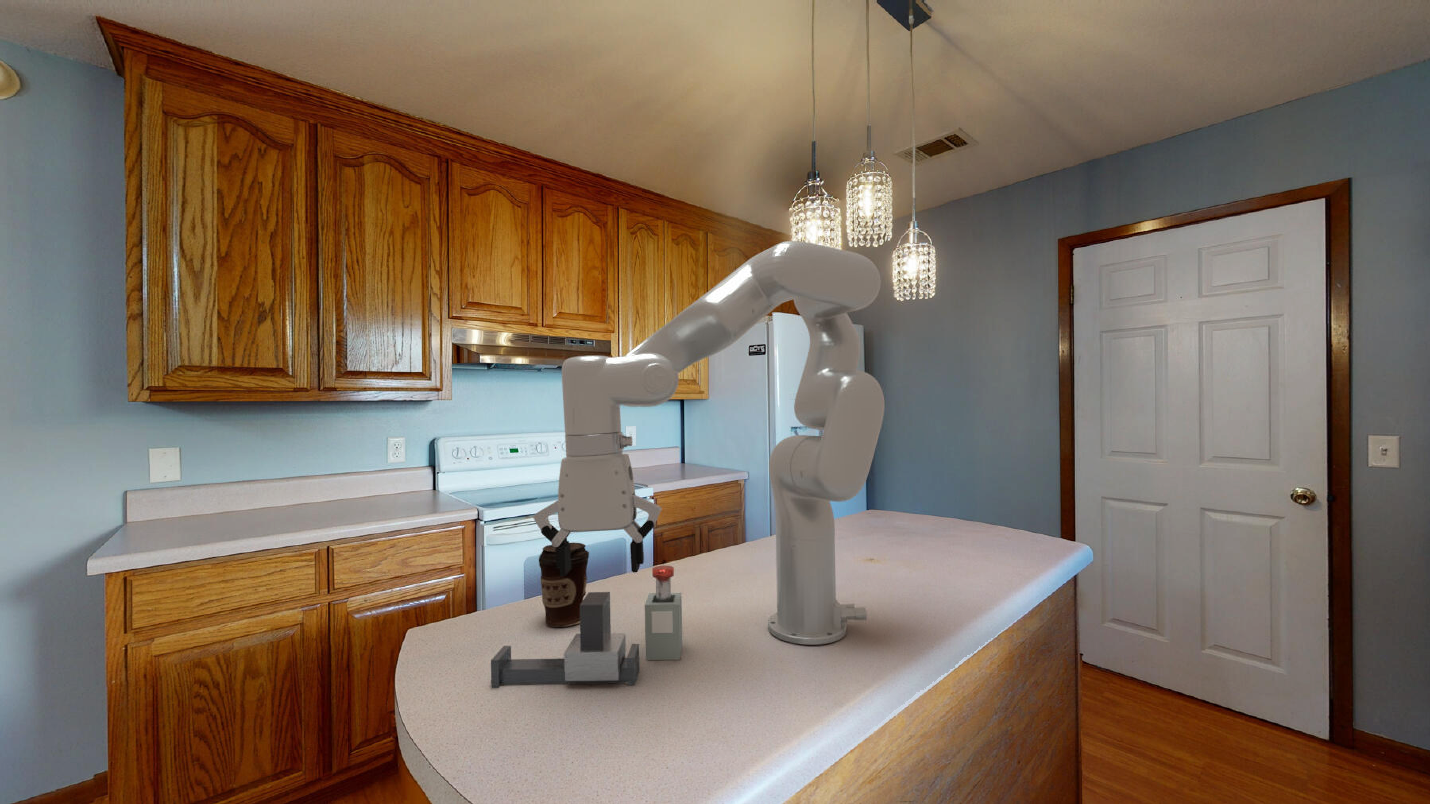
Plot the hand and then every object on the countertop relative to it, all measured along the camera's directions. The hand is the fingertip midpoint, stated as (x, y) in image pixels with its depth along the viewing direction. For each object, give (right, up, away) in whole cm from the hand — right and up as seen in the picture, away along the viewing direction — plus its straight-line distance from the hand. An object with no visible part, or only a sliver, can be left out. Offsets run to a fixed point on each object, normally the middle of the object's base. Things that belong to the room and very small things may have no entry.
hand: (600, 571), depth 75 cm
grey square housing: (+8, -14, +7) cm, 18 cm away
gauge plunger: (+8, -9, +7) cm, 14 cm away
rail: (-4, -14, 0) cm, 15 cm away
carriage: (0, -14, 0) cm, 14 cm away
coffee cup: (-10, -15, +20) cm, 27 cm away
